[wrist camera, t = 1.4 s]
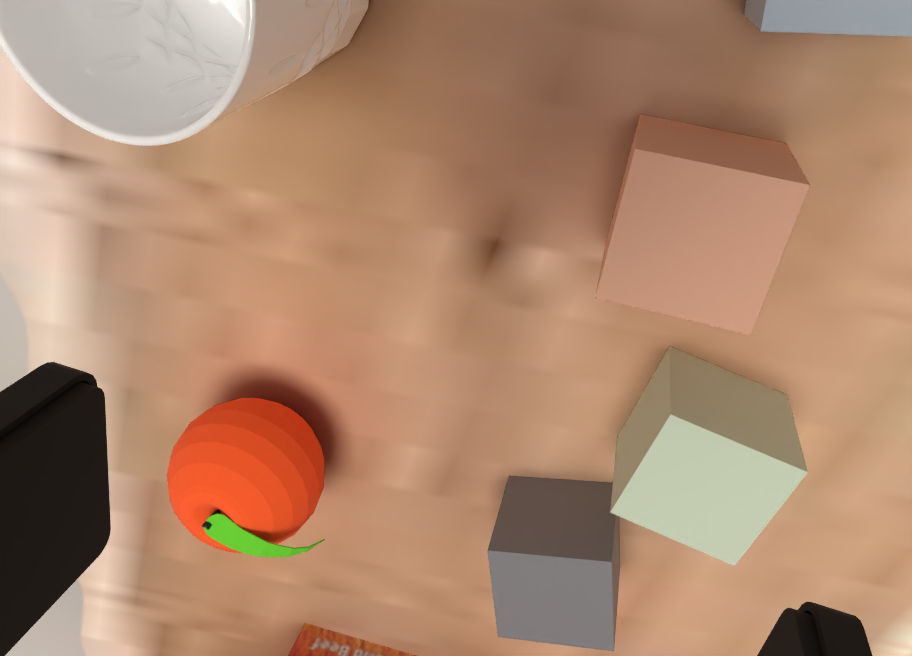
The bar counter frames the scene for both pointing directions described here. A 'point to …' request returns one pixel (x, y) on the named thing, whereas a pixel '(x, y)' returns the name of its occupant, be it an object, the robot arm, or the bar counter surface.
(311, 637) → the pasta box
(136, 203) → the bar counter surface
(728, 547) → the sage block
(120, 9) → the white cup
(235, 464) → the clementine
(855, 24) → the slate block
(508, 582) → the charcoal block
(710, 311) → the terracotta block
